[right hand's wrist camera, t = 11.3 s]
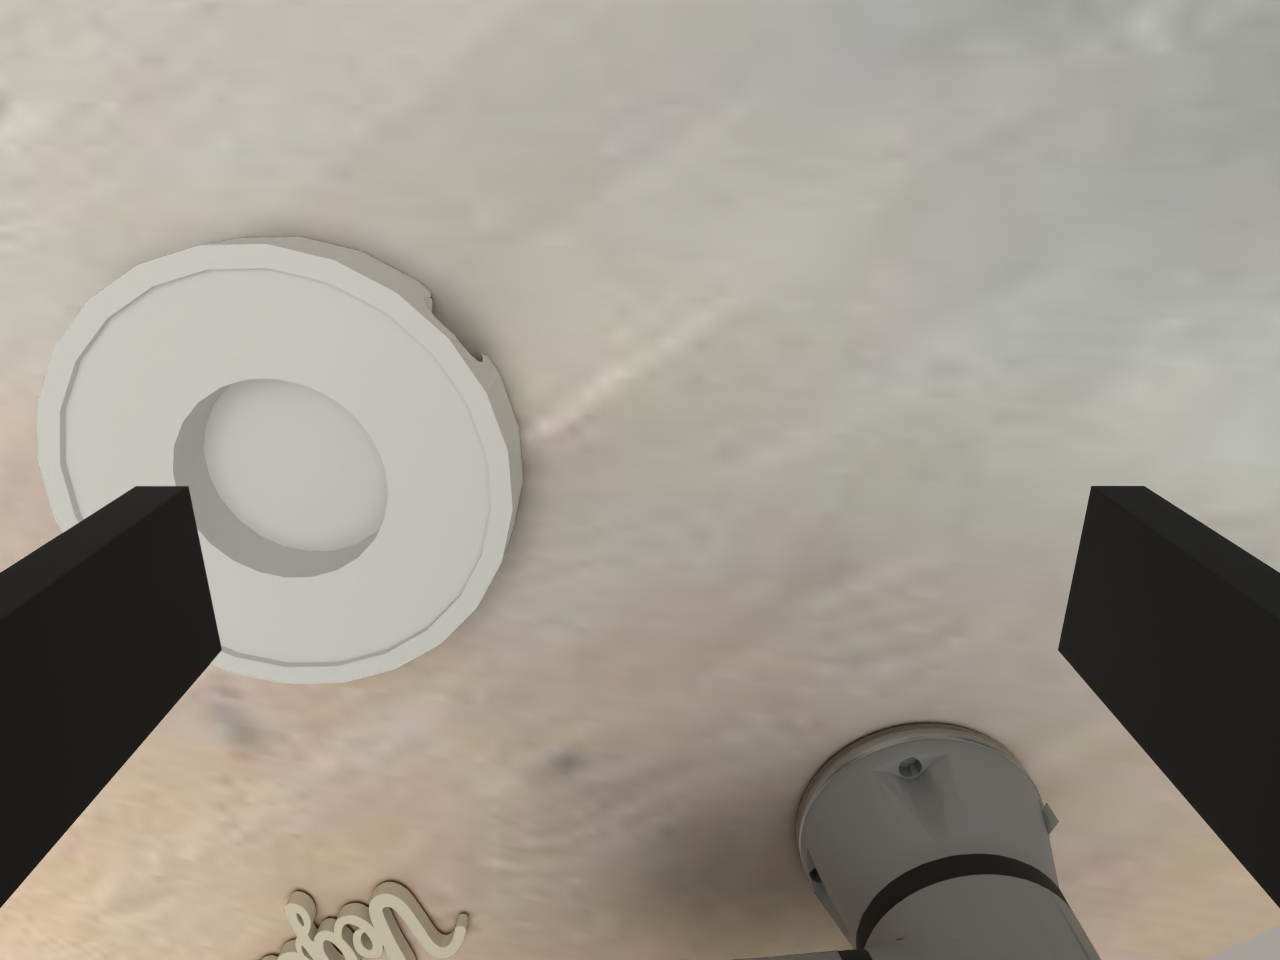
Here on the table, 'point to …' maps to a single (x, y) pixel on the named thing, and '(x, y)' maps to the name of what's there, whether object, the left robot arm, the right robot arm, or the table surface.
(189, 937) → the table surface
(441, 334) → the ashtray
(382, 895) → the decorative sign
